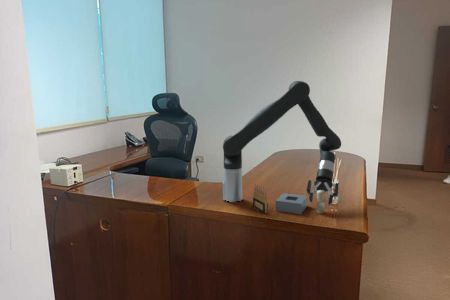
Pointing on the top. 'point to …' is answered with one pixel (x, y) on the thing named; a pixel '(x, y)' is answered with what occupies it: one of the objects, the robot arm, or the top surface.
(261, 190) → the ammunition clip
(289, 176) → the top surface
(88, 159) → the top surface
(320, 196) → the peg
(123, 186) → the top surface
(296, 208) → the socket block
